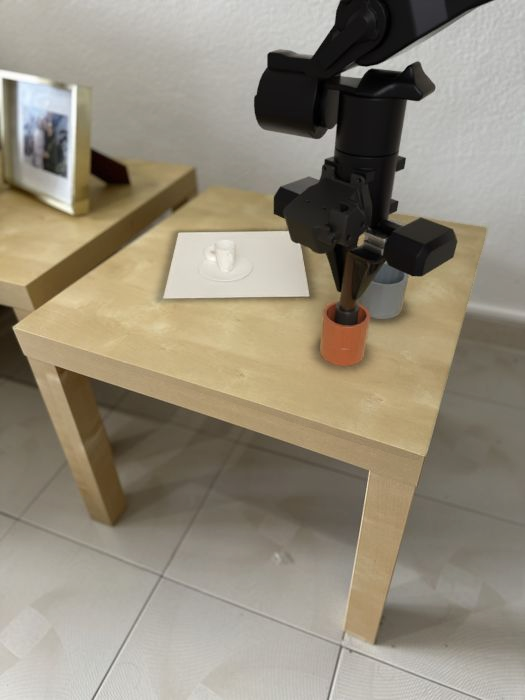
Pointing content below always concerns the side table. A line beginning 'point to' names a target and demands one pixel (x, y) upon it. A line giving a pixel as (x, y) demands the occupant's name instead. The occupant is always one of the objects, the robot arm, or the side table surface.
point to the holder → (343, 337)
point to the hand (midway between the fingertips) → (348, 294)
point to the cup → (385, 293)
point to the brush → (347, 293)
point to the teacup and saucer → (236, 266)
